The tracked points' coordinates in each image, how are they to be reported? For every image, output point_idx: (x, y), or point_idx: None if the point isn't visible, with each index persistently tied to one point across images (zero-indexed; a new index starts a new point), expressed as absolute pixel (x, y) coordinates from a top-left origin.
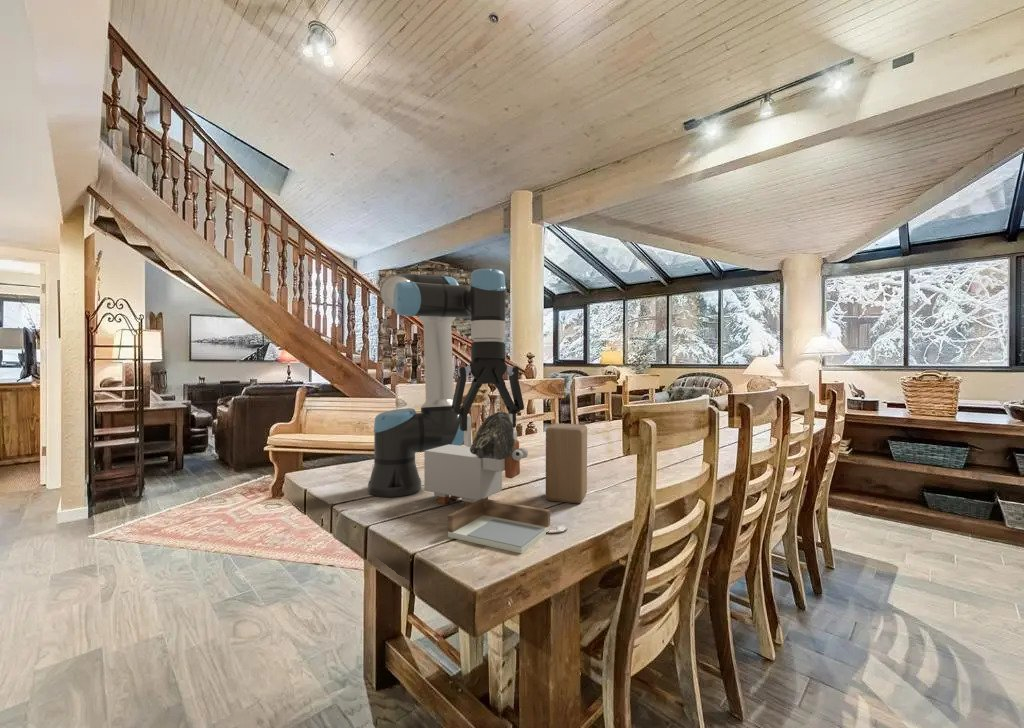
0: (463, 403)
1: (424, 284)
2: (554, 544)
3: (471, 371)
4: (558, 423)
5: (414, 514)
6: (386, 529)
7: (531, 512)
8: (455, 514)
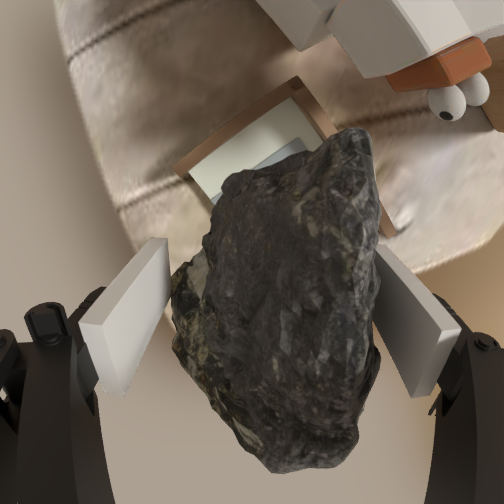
0: (31, 402)
1: None
2: None
3: None
4: None
5: (156, 14)
6: (90, 85)
7: None
8: (189, 167)
